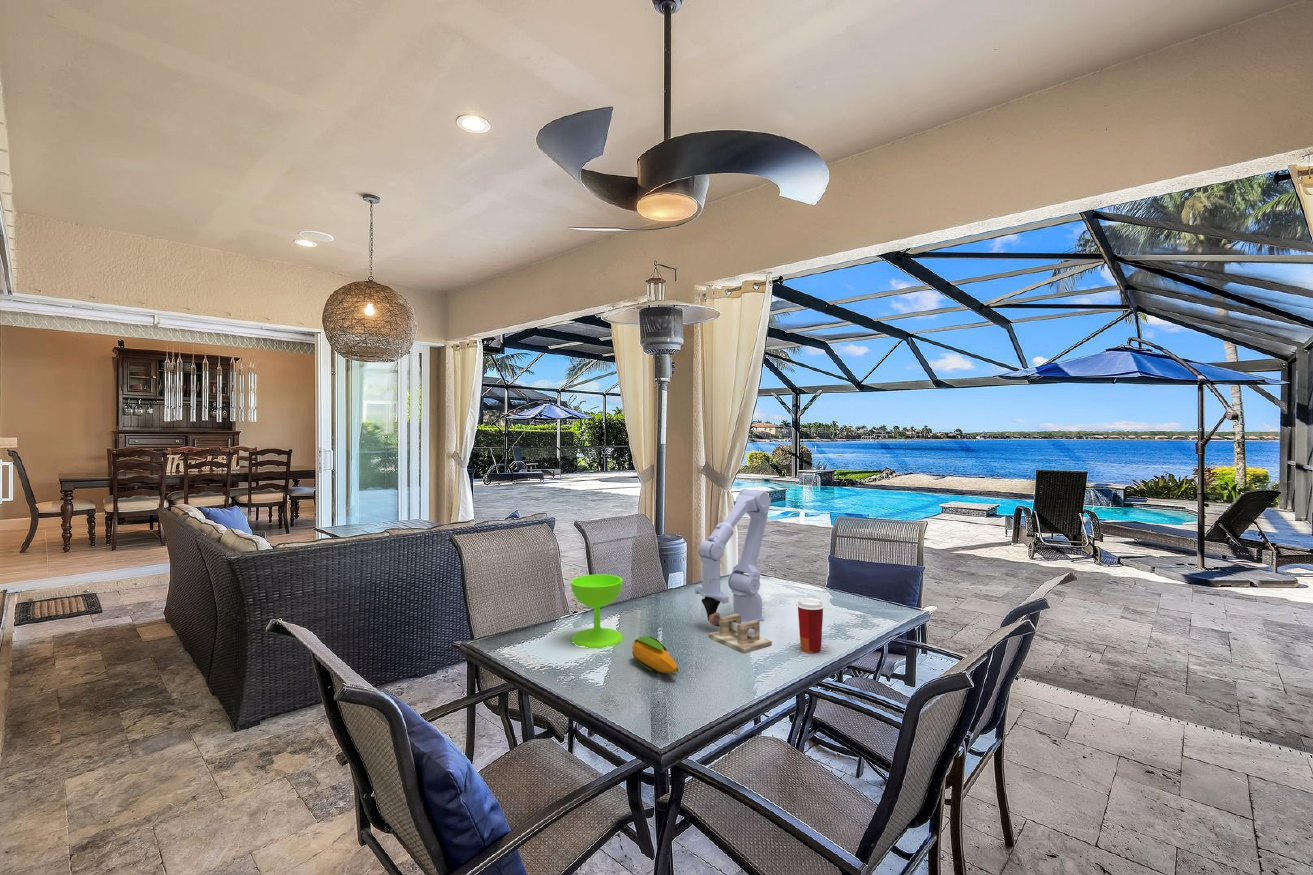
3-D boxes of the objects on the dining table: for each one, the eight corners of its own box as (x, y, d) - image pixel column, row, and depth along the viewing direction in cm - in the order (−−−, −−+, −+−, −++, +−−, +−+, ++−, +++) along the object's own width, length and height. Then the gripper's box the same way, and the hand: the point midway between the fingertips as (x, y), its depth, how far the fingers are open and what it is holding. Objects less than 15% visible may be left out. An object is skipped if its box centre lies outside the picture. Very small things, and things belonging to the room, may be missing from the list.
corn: (647, 627, 161) (688, 649, 144) (649, 653, 162) (690, 678, 145) (624, 634, 157) (663, 657, 140) (626, 661, 158) (665, 687, 141)
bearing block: (708, 637, 174) (708, 616, 175) (735, 630, 181) (734, 610, 181) (744, 653, 161) (744, 630, 161) (771, 645, 167) (771, 623, 167)
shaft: (708, 625, 180) (708, 612, 180) (718, 622, 182) (718, 610, 182) (748, 641, 165) (748, 628, 165) (758, 639, 167) (758, 625, 167)
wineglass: (567, 633, 179) (566, 576, 179) (616, 628, 184) (615, 572, 184) (575, 651, 164) (575, 589, 164) (629, 644, 169) (628, 584, 169)
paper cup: (826, 647, 165) (825, 599, 166) (822, 656, 158) (821, 606, 159) (799, 643, 169) (798, 596, 169) (794, 652, 162) (793, 603, 162)
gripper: (687, 575, 186) (687, 617, 186) (716, 584, 174) (716, 629, 174) (704, 572, 190) (704, 613, 189) (733, 581, 178) (733, 624, 177)
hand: (711, 620), depth 182 cm, fingers closed
